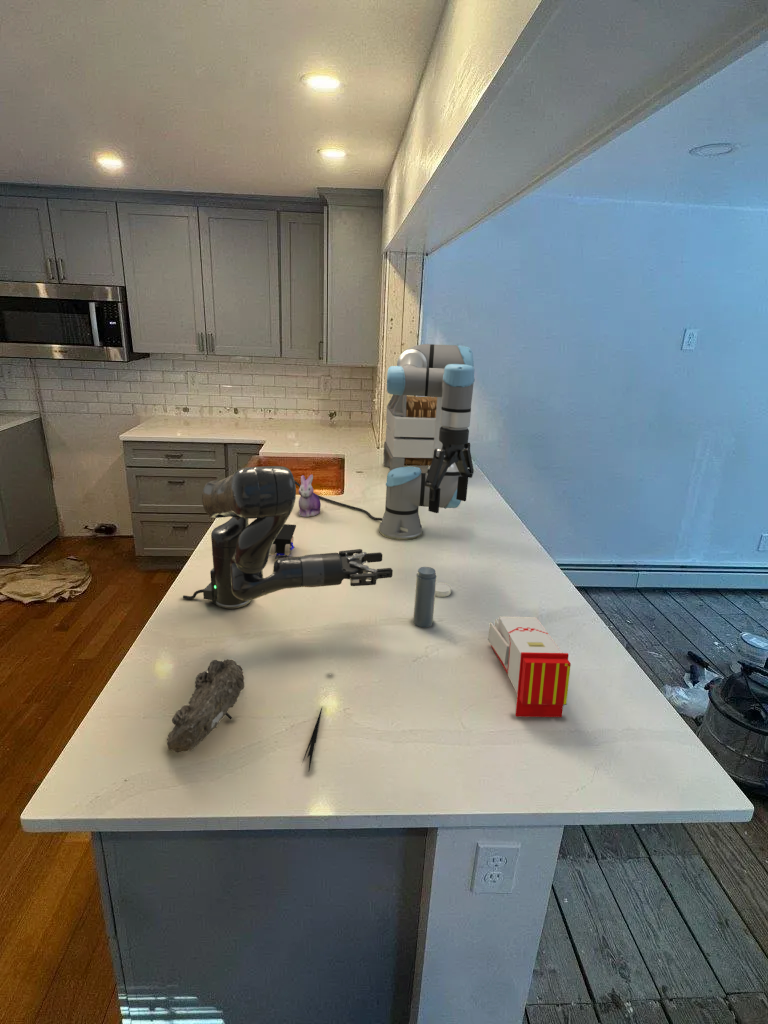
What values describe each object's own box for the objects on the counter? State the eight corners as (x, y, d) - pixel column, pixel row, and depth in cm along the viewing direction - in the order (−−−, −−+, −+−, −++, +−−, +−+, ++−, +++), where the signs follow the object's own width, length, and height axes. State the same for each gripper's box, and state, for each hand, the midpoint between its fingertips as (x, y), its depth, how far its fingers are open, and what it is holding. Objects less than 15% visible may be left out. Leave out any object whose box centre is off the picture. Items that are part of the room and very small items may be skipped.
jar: (409, 620, 145) (412, 568, 140) (424, 615, 147) (428, 564, 142) (421, 629, 141) (425, 576, 136) (436, 624, 144) (441, 572, 139)
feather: (331, 679, 122) (336, 673, 122) (307, 777, 96) (313, 769, 95) (324, 675, 122) (329, 669, 121) (298, 772, 95) (304, 764, 95)
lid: (440, 598, 156) (441, 593, 156) (425, 590, 160) (426, 585, 160) (455, 593, 160) (455, 587, 159) (440, 585, 164) (440, 580, 163)
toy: (534, 602, 136) (579, 659, 107) (529, 653, 139) (572, 723, 110) (484, 601, 136) (516, 658, 107) (480, 652, 139) (510, 722, 109)
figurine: (302, 519, 209) (301, 480, 204) (293, 510, 217) (292, 472, 212) (325, 516, 213) (326, 477, 208) (316, 507, 222) (316, 470, 217)
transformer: (382, 463, 289) (386, 382, 275) (445, 464, 293) (451, 384, 279) (390, 482, 257) (394, 392, 243) (460, 483, 261) (468, 394, 247)
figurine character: (291, 566, 174) (297, 542, 188) (290, 545, 171) (296, 522, 184) (269, 566, 174) (276, 541, 187) (268, 544, 171) (275, 521, 184)
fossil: (192, 660, 117) (244, 628, 112) (224, 691, 120) (276, 661, 115) (142, 746, 98) (202, 712, 93) (182, 779, 101) (242, 748, 96)
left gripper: (326, 569, 123) (396, 563, 128) (314, 542, 136) (379, 538, 141) (325, 599, 126) (394, 592, 131) (314, 570, 139) (378, 565, 143)
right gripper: (467, 419, 156) (460, 492, 163) (413, 431, 137) (408, 513, 145) (491, 423, 151) (483, 498, 159) (439, 436, 133) (433, 520, 140)
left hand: (386, 564), depth 136 cm, fingers open, 8 cm apart
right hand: (447, 505), depth 152 cm, fingers open, 13 cm apart
